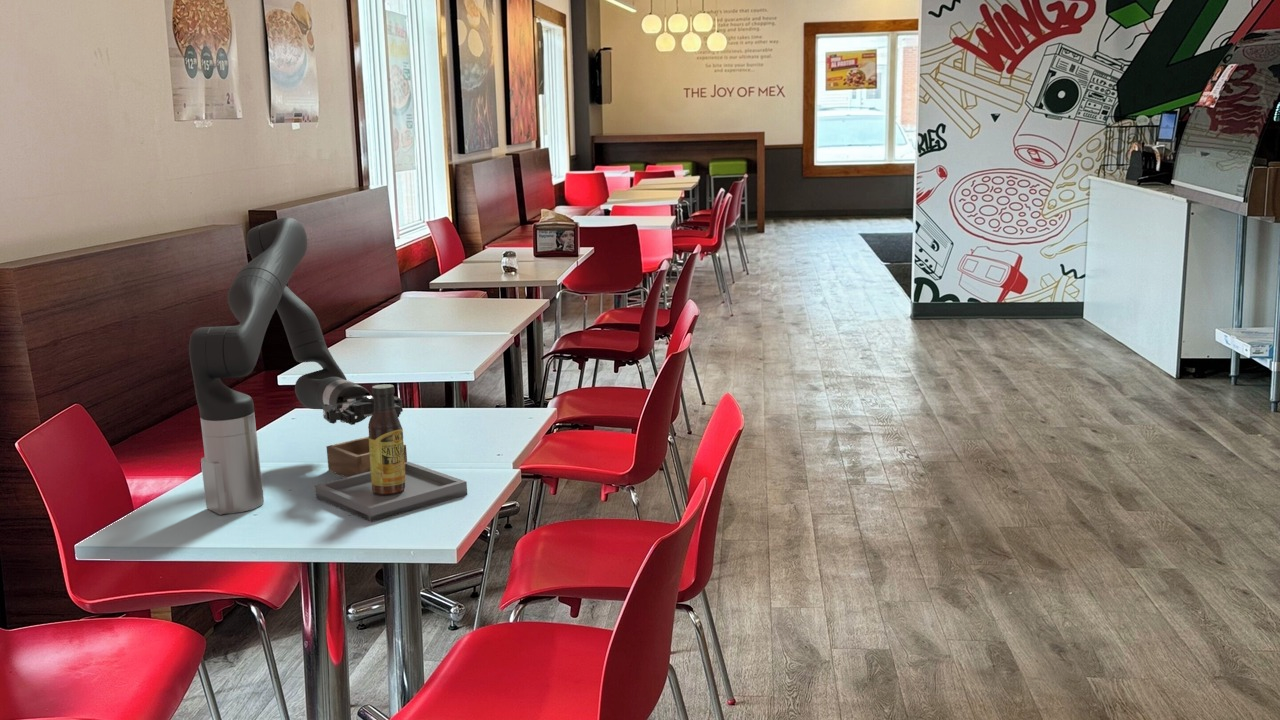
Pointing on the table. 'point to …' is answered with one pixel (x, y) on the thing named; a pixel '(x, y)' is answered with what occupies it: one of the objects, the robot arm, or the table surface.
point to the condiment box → (351, 457)
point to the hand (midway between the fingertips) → (375, 415)
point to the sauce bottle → (386, 443)
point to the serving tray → (418, 493)
